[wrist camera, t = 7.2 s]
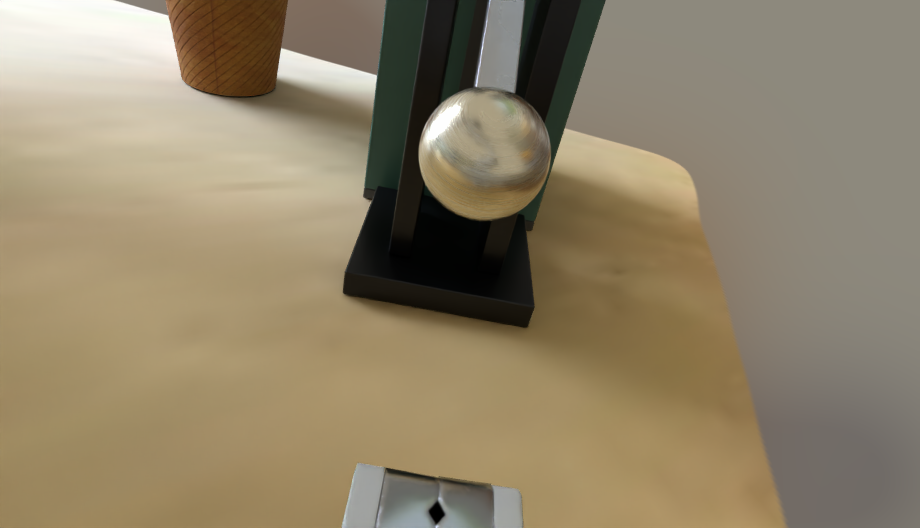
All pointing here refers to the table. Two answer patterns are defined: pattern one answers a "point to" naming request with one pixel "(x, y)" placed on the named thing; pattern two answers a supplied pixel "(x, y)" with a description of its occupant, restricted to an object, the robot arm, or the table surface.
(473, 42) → the toaster
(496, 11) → the lever
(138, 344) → the table surface
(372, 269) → the lever bracket
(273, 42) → the disposable coffee cup
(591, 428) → the table surface
